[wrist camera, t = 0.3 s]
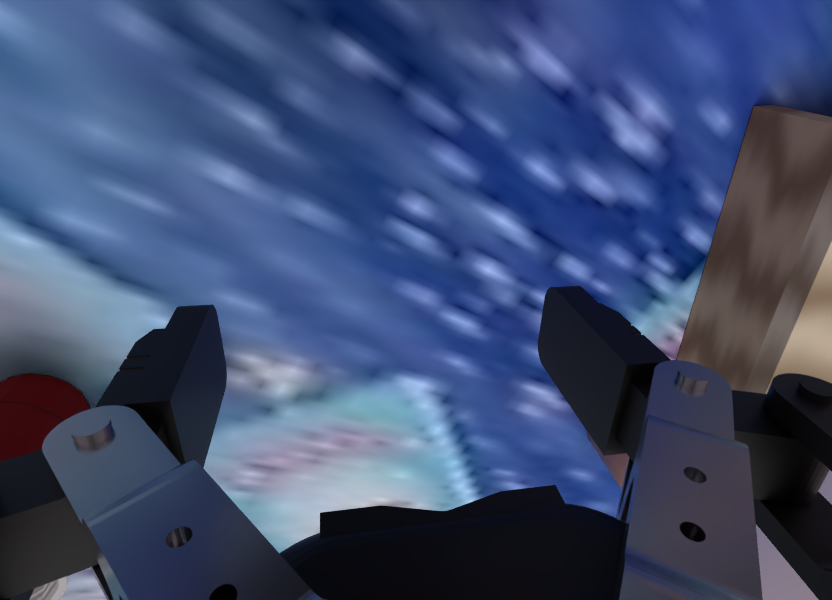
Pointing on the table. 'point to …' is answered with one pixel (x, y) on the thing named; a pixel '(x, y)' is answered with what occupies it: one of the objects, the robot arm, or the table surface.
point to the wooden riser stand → (770, 258)
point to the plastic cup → (35, 429)
